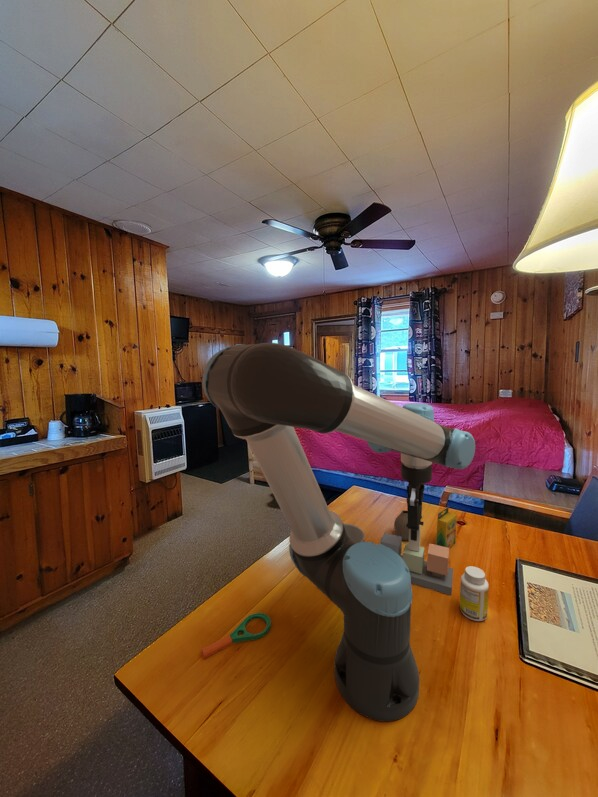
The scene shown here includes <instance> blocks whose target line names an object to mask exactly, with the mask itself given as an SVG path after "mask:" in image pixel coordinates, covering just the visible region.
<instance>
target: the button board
mask: <svg viewBox="0 0 598 797" xmlns="http://www.w3.org/2000/svg"><path fill="white" fill-rule="evenodd" d="M400 557H401V558H402V559H403V554H401V555H400ZM409 572H410V576H411V585H415V586H419V587H422V588H424V589H428V590H431V591H436V592H438V593H443V594H446V595H449V596H452V594H453V593H452V592H453V580H454V578H453V577H454V567H453V568H452V567H449V566H448V576H446V575H443V574H439V573H435V572H432V571H428V570H427V560H424V566H423V571H422V574H419V573H416V572H412V571H409Z"/></svg>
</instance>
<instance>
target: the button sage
mask: <svg viewBox="0 0 598 797" xmlns="http://www.w3.org/2000/svg"><path fill="white" fill-rule="evenodd" d="M408 548H409V542H406V543H405V546H404V548H403V552H402V555H403V560H404V562H405V563H406V565H407V567H408V569H409V571H412V572H416V573H419V574H422V571H423V566H424V561H425V549H426V548H425V546H421V545H420V551H419V552H418V551H414V550H410V549H408Z"/></svg>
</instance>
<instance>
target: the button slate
mask: <svg viewBox="0 0 598 797" xmlns="http://www.w3.org/2000/svg"><path fill="white" fill-rule="evenodd" d="M379 542H380V543H379V544H382V545H384V546H386V547H388V548H390V549H392V550H393V551H395V552H396V553H397V554H398V555H399V556H400V555H402V543H403V540H402V537H400V536H397V535H396V534H391V533H386V532H384V533H383V535H382V537H381V540H380V541H379Z"/></svg>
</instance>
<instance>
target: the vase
mask: <svg viewBox="0 0 598 797" xmlns="http://www.w3.org/2000/svg"><path fill="white" fill-rule="evenodd" d="M393 522H394V523H393V531H394V533H395V535H396V536H400V537H402V541H406V542H409V529H408V527H406V524H408V510H407V509H404V510H401V512H400V513H399V514H398V515H397V517H396V518H395V520H394V521H393Z"/></svg>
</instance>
